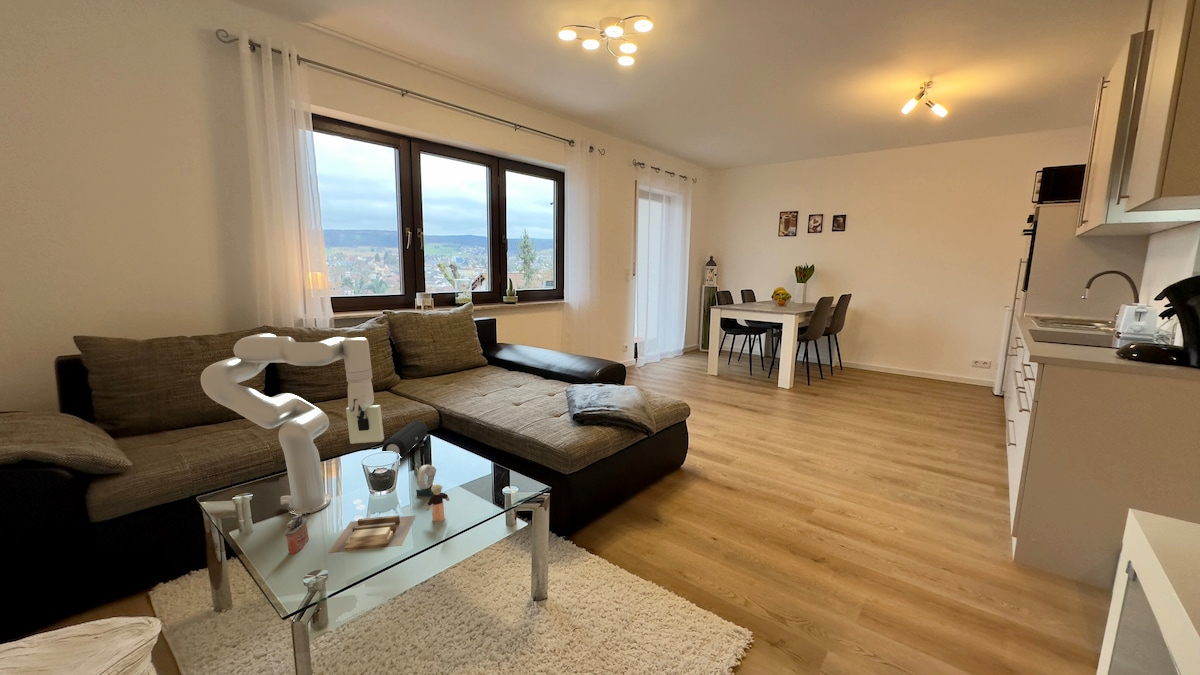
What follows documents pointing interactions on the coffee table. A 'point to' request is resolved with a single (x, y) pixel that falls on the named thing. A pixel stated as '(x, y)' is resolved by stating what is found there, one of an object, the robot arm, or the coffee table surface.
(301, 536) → the lighter
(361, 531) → the upper birch offcut
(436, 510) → the grandmother figurine
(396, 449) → the portable speaker
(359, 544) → the lower birch offcut
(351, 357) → the robot arm
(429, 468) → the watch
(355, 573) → the coffee table surface
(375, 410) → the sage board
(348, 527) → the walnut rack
